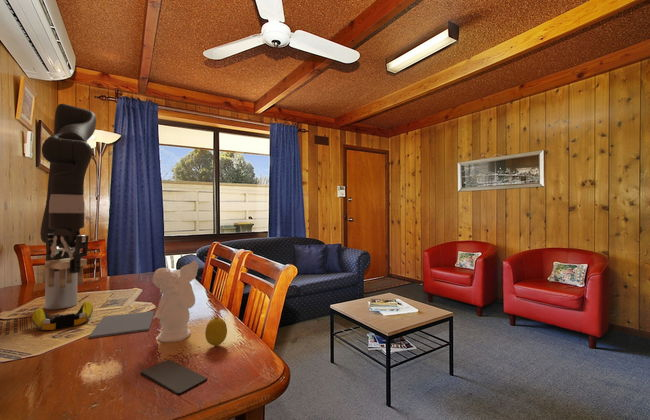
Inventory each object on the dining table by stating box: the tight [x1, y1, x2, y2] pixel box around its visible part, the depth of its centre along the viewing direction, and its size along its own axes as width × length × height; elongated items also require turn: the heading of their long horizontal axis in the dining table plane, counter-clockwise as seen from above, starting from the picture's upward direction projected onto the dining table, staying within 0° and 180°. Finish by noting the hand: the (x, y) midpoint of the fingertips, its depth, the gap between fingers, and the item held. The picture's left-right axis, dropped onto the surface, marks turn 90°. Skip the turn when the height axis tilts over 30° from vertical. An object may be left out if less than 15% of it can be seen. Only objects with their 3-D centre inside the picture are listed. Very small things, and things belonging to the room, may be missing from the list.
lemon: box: [204, 316, 228, 347], centre depth 83 cm, size 6×6×8 cm
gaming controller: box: [31, 300, 94, 331], centre depth 98 cm, size 15×6×10 cm
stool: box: [44, 258, 88, 289], centre depth 84 cm, size 6×6×7 cm
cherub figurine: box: [152, 259, 199, 343], centre depth 91 cm, size 12×12×22 cm
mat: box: [88, 310, 155, 339], centre depth 98 cm, size 18×15×1 cm
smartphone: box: [140, 359, 208, 396], centre depth 67 cm, size 7×1×15 cm
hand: (66, 271), depth 84 cm, fingers closed on stool, 6 cm apart
